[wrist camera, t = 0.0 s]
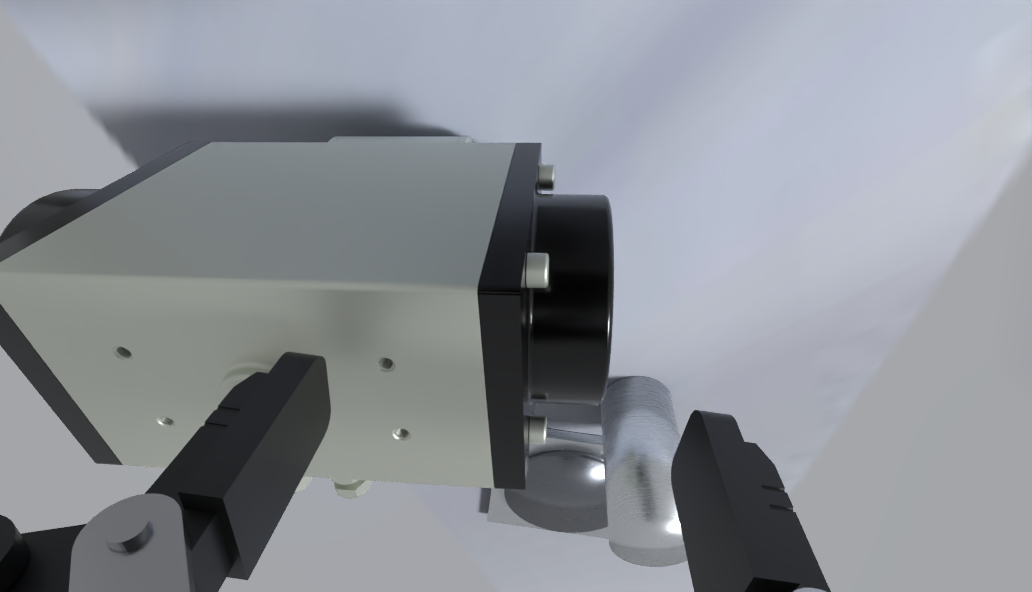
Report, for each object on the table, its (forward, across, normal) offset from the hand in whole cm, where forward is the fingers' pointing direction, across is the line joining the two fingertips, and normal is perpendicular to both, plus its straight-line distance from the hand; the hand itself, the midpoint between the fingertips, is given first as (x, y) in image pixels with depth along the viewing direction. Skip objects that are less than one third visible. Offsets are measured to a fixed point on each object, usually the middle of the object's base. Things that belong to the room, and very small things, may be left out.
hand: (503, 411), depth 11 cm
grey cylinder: (+18, -9, +16) cm, 26 cm away
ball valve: (+18, +6, +2) cm, 19 cm away
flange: (+19, -6, +25) cm, 32 cm away
